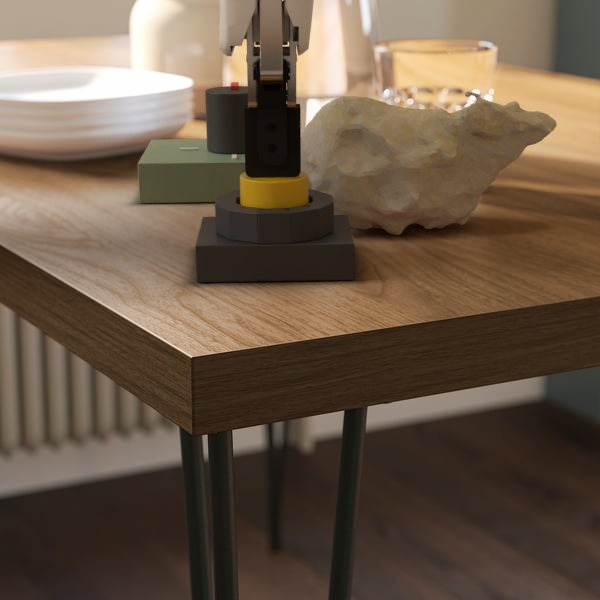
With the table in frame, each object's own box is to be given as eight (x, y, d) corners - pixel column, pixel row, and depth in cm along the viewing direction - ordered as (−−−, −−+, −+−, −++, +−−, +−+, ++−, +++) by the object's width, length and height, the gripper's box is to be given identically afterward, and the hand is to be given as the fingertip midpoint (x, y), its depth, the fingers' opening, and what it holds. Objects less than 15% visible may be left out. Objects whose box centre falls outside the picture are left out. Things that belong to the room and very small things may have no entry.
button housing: (196, 282, 67) (193, 214, 66) (203, 250, 74) (201, 187, 72) (354, 280, 67) (354, 212, 66) (347, 248, 74) (347, 185, 73)
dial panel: (139, 203, 86) (137, 160, 85) (153, 176, 96) (151, 137, 95) (330, 200, 87) (329, 158, 86) (324, 173, 96) (324, 135, 95)
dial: (264, 153, 88) (263, 89, 87) (205, 154, 88) (203, 90, 87) (264, 143, 92) (263, 81, 91) (208, 144, 92) (206, 82, 91)
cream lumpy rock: (253, 258, 79) (362, 142, 67) (253, 166, 82) (356, 40, 70) (446, 300, 85) (576, 200, 73) (438, 213, 89) (562, 104, 77)
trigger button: (239, 217, 67) (238, 182, 67) (241, 202, 71) (240, 168, 71) (309, 216, 67) (309, 181, 67) (307, 201, 71) (307, 167, 71)
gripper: (207, -154, 70) (215, 151, 76) (189, -174, 56) (200, 204, 61) (332, -154, 70) (331, 150, 76) (347, -174, 56) (344, 202, 62)
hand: (273, 173), depth 69 cm, fingers closed
